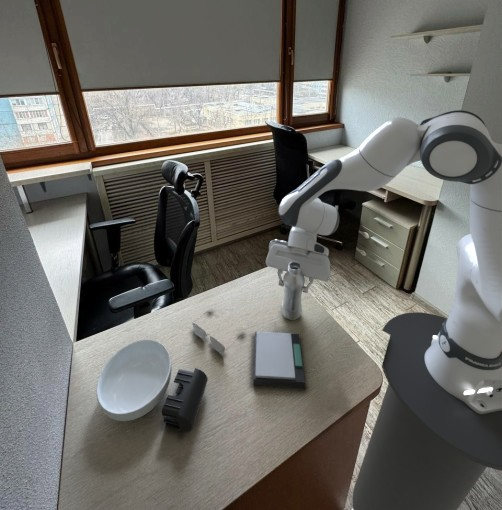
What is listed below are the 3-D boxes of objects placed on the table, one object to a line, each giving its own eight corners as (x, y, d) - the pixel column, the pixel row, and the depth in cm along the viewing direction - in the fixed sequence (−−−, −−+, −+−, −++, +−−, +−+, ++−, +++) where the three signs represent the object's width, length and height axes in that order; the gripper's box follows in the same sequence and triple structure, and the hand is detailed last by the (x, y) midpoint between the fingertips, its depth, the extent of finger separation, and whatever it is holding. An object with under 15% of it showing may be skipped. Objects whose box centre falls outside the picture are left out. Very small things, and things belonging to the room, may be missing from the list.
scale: (298, 338, 80) (299, 331, 79) (304, 387, 68) (305, 380, 67) (255, 336, 80) (255, 329, 79) (253, 384, 68) (253, 377, 67)
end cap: (193, 436, 59) (191, 419, 56) (163, 429, 60) (159, 411, 57) (208, 387, 68) (207, 370, 65) (182, 381, 69) (180, 364, 67)
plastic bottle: (279, 305, 91) (282, 258, 83) (299, 305, 91) (304, 258, 83) (281, 322, 85) (284, 273, 77) (303, 323, 85) (308, 273, 77)
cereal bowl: (169, 425, 61) (165, 407, 58) (90, 439, 58) (82, 420, 56) (177, 351, 76) (174, 334, 73) (115, 360, 74) (110, 342, 71)
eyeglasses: (191, 330, 82) (191, 320, 81) (210, 314, 88) (210, 304, 87) (225, 358, 75) (226, 347, 73) (243, 337, 81) (243, 327, 79)
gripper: (269, 236, 88) (258, 279, 83) (333, 250, 81) (326, 298, 77) (272, 239, 94) (263, 280, 89) (333, 253, 87) (326, 298, 82)
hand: (292, 289), depth 83 cm, fingers closed on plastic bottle, 6 cm apart
